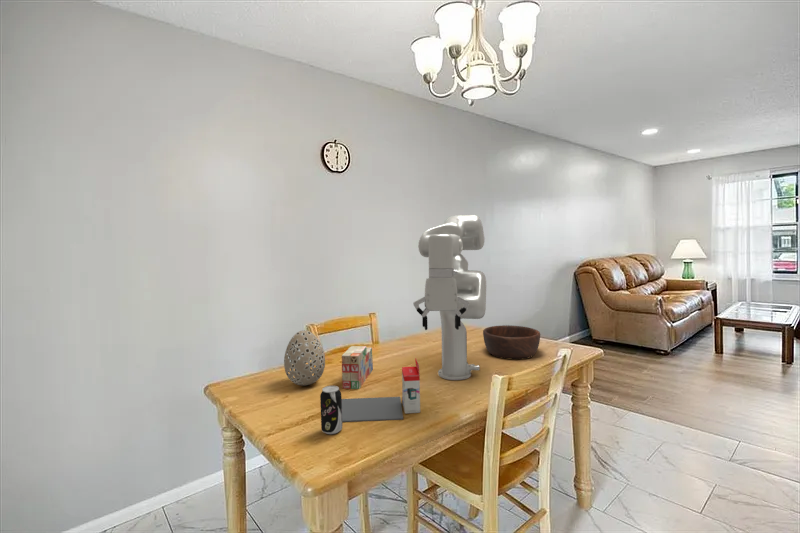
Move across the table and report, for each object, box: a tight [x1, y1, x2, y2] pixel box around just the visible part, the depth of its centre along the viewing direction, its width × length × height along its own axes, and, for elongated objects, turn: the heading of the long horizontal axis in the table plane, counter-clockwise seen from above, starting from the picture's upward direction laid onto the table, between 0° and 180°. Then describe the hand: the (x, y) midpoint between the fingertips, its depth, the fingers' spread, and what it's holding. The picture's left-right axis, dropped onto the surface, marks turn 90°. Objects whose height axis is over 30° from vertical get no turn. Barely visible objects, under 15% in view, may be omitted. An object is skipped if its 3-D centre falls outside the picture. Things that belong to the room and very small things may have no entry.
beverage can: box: [319, 385, 343, 435], centre depth 109 cm, size 6×6×12 cm
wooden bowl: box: [482, 324, 541, 360], centre depth 179 cm, size 25×25×10 cm
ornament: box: [283, 329, 326, 386], centre depth 145 cm, size 15×15×20 cm
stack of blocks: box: [341, 345, 374, 390], centre depth 150 cm, size 21×6×12 cm, turn 171°
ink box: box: [401, 357, 421, 414], centre depth 123 cm, size 8×5×15 cm, turn 5°
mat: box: [342, 396, 404, 423], centre depth 123 cm, size 20×16×1 cm
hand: (441, 328), depth 123 cm, fingers open, 9 cm apart
